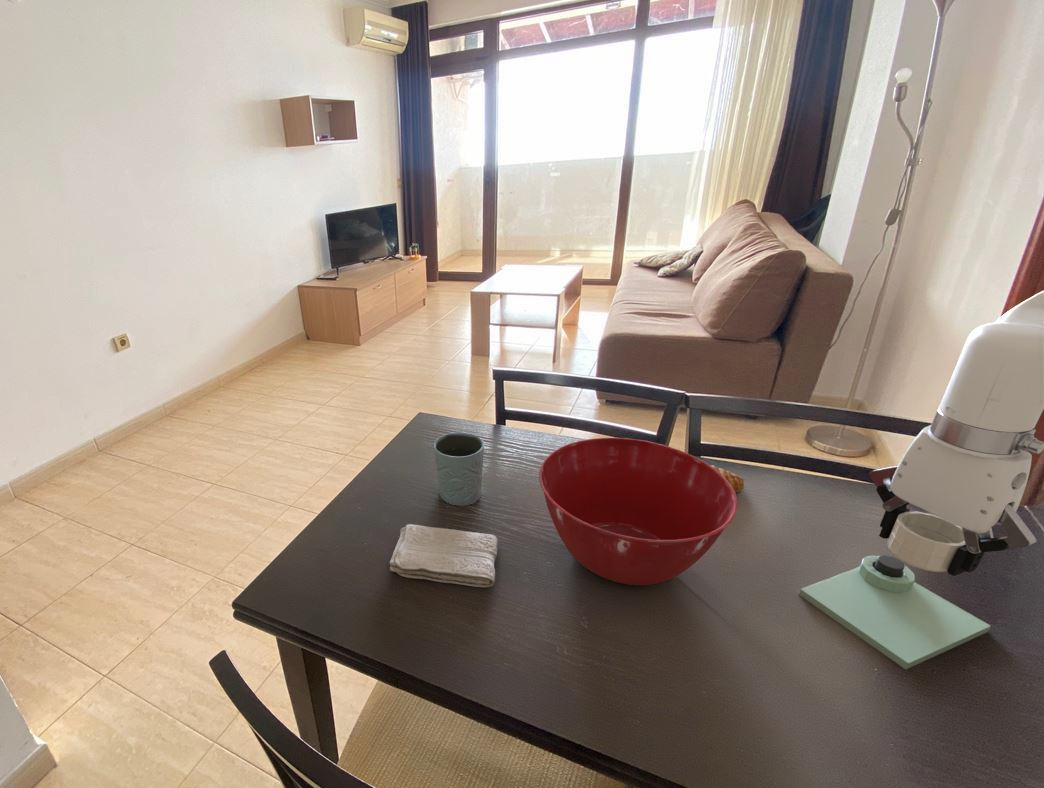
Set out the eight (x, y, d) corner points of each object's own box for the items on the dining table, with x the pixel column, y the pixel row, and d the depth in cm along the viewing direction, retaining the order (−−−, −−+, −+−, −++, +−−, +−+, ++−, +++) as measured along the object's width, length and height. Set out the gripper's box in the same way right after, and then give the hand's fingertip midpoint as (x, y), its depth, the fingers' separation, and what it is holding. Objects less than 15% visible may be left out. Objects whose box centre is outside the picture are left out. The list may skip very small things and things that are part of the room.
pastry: (738, 479, 109) (742, 463, 107) (745, 499, 103) (750, 482, 101) (686, 473, 112) (689, 458, 110) (690, 492, 106) (693, 475, 105)
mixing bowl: (741, 637, 76) (766, 551, 69) (531, 604, 84) (535, 524, 77) (696, 515, 100) (712, 443, 93) (537, 499, 108) (541, 432, 102)
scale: (874, 566, 86) (880, 551, 84) (987, 632, 73) (996, 616, 72) (798, 594, 82) (803, 579, 80) (905, 669, 69) (913, 653, 68)
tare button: (883, 561, 83) (887, 552, 82) (905, 574, 80) (909, 565, 79) (869, 567, 82) (872, 558, 81) (891, 580, 79) (895, 571, 79)
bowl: (908, 534, 73) (920, 506, 71) (970, 566, 67) (985, 536, 66) (873, 547, 72) (884, 519, 70) (933, 580, 66) (947, 551, 64)
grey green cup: (454, 514, 106) (453, 462, 101) (425, 490, 114) (423, 441, 109) (494, 496, 110) (495, 445, 105) (463, 475, 118) (462, 427, 113)
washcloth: (402, 532, 102) (401, 519, 101) (499, 543, 97) (499, 529, 96) (387, 577, 92) (386, 563, 90) (494, 591, 87) (494, 576, 86)
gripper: (1110, 460, 55) (1032, 590, 63) (912, 396, 70) (869, 508, 78) (1064, 476, 53) (989, 609, 61) (870, 408, 68) (830, 521, 76)
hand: (922, 551), depth 69 cm, fingers closed on bowl, 6 cm apart
